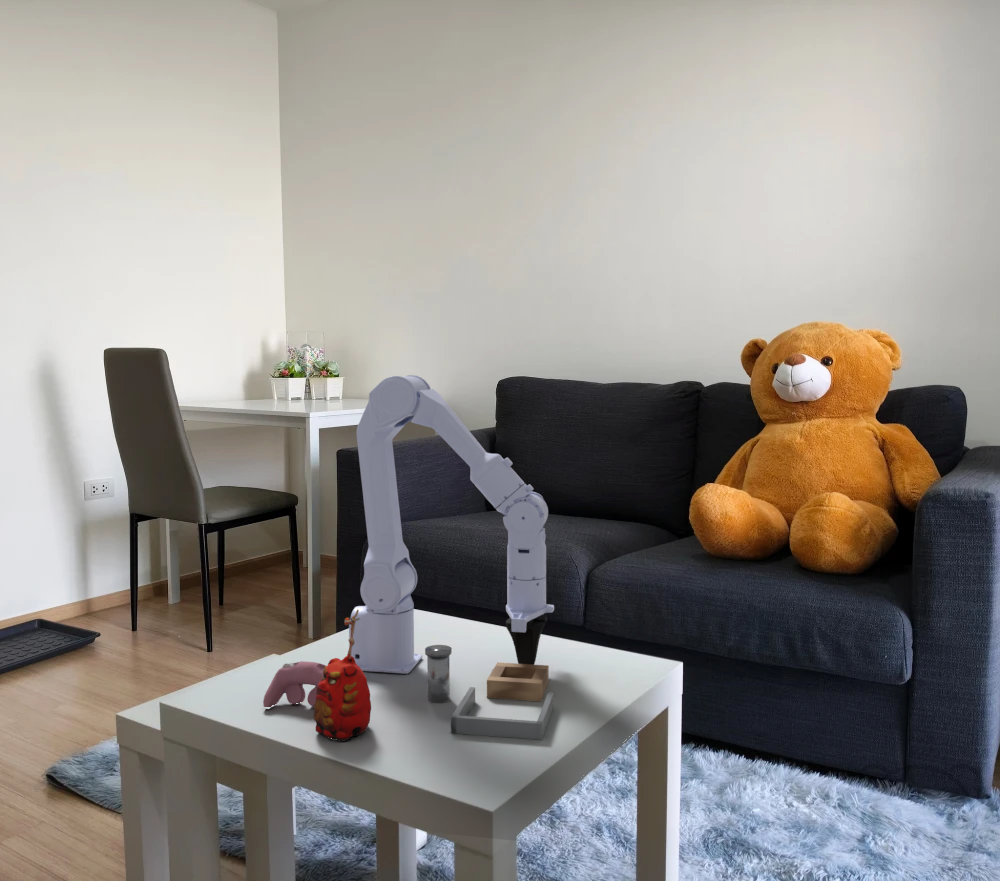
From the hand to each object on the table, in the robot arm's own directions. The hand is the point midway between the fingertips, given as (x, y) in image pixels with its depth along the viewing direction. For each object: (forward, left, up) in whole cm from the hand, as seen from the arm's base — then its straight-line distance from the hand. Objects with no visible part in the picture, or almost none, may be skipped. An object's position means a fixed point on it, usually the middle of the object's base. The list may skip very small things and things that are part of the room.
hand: (526, 666), depth 133 cm
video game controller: (-27, -19, -1) cm, 33 cm away
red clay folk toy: (-19, -25, -1) cm, 32 cm away
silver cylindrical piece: (-10, -12, -1) cm, 16 cm away
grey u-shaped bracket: (0, -18, -1) cm, 18 cm away
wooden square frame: (0, -7, -1) cm, 7 cm away
